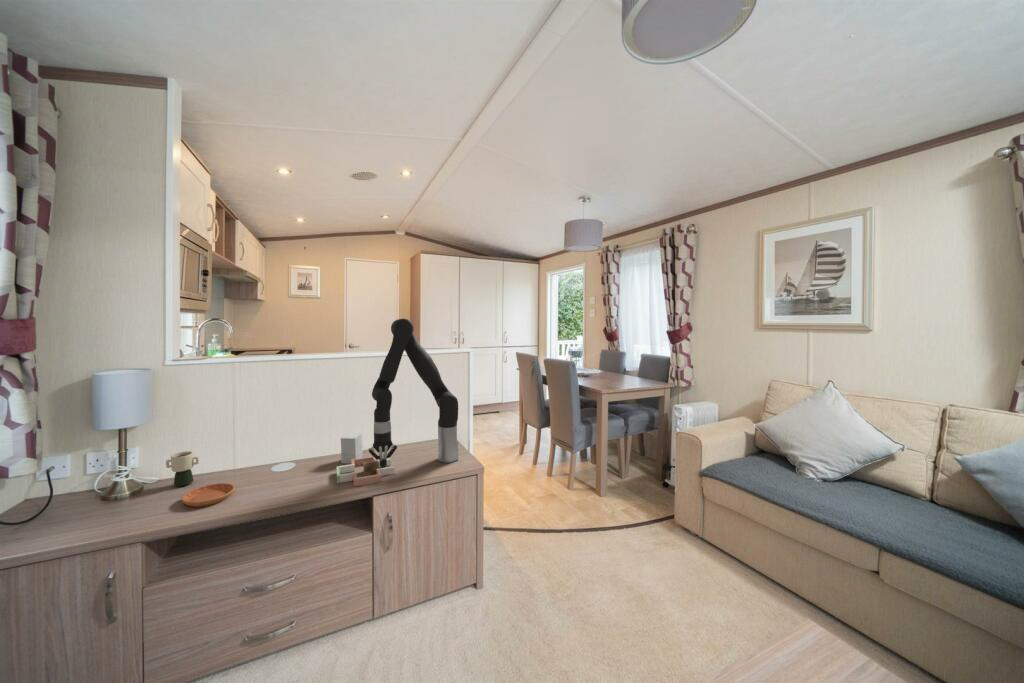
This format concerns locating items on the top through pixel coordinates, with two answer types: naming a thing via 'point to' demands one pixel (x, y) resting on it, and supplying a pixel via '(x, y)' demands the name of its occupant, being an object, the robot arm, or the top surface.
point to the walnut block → (370, 467)
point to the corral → (365, 479)
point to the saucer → (208, 495)
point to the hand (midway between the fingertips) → (383, 467)
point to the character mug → (182, 467)
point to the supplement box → (351, 447)
